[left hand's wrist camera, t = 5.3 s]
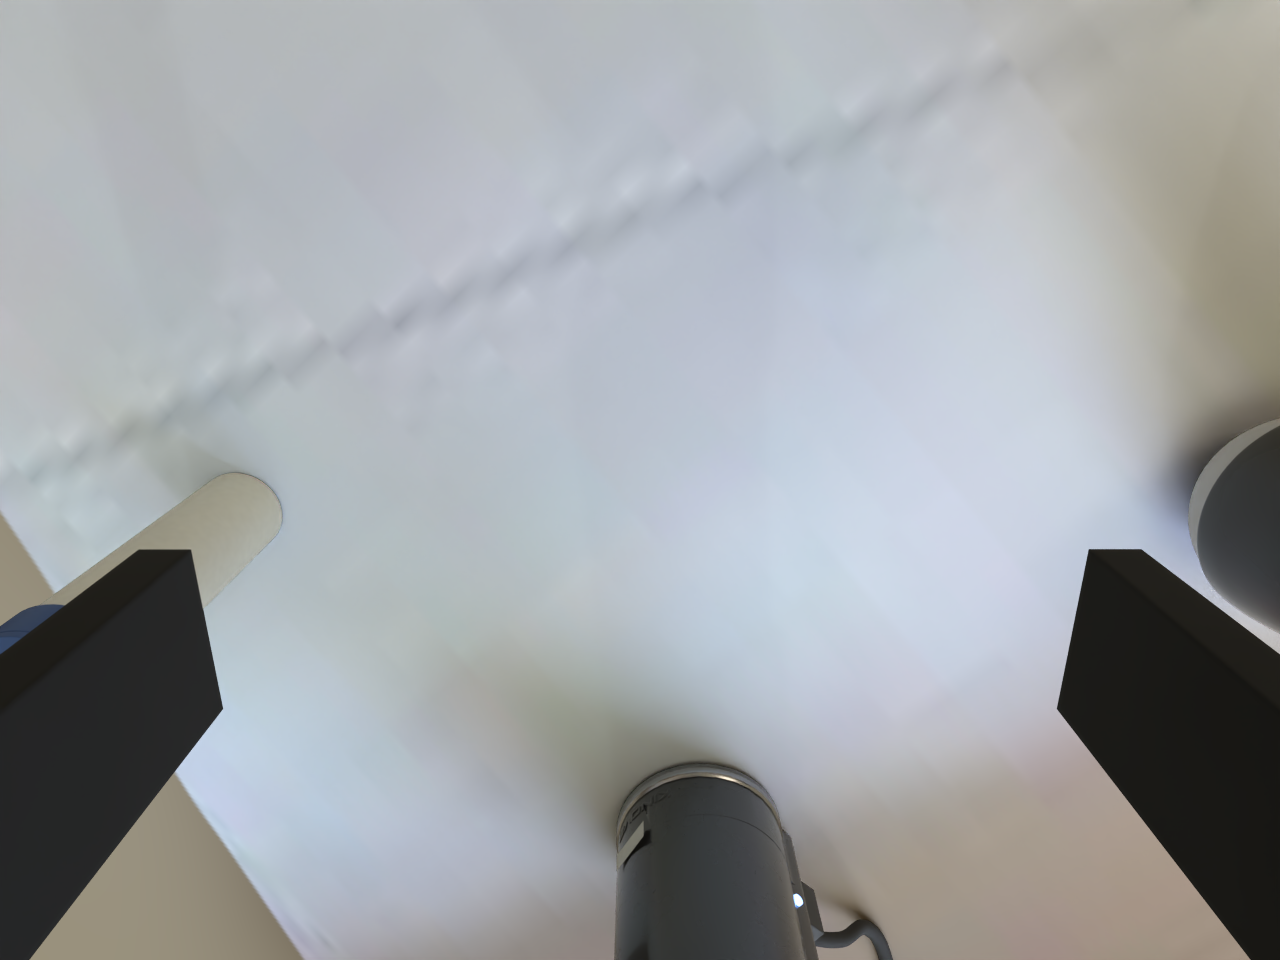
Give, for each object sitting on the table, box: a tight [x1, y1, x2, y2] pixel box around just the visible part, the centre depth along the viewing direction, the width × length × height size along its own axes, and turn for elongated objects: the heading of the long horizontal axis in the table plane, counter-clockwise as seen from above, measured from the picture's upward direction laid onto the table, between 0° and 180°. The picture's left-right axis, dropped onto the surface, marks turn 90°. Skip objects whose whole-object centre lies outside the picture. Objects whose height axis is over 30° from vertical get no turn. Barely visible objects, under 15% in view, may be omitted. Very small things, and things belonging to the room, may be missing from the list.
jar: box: [40, 473, 282, 609], centre depth 35 cm, size 4×4×15 cm
